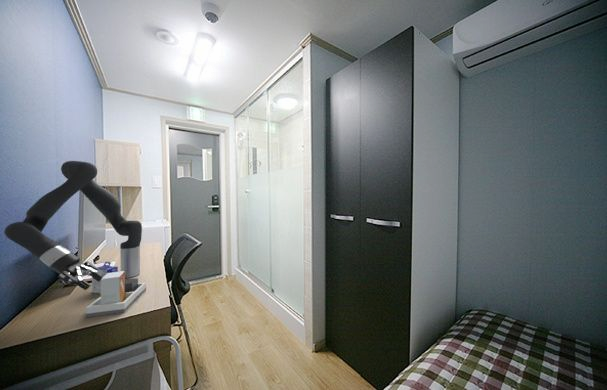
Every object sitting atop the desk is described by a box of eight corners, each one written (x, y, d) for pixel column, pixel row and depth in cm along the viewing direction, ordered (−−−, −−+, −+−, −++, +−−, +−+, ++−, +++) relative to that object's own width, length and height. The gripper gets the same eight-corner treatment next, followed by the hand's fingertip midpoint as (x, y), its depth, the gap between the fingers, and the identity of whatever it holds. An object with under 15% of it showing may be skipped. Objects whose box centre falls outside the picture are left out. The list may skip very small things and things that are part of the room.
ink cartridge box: (118, 289, 110) (118, 261, 110) (106, 294, 104) (106, 265, 104) (103, 287, 112) (103, 260, 112) (91, 292, 106) (91, 264, 106)
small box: (120, 307, 90) (119, 276, 90) (100, 310, 87) (99, 279, 87) (125, 298, 98) (125, 270, 97) (107, 301, 95) (106, 272, 94)
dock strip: (115, 293, 106) (115, 278, 105) (146, 290, 109) (146, 275, 109) (85, 317, 85) (85, 298, 85) (124, 312, 89) (124, 294, 89)
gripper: (54, 257, 81) (91, 283, 84) (81, 247, 95) (112, 270, 98) (36, 272, 80) (74, 298, 83) (65, 260, 93) (98, 283, 97)
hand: (95, 283), depth 91 cm, fingers open, 8 cm apart
